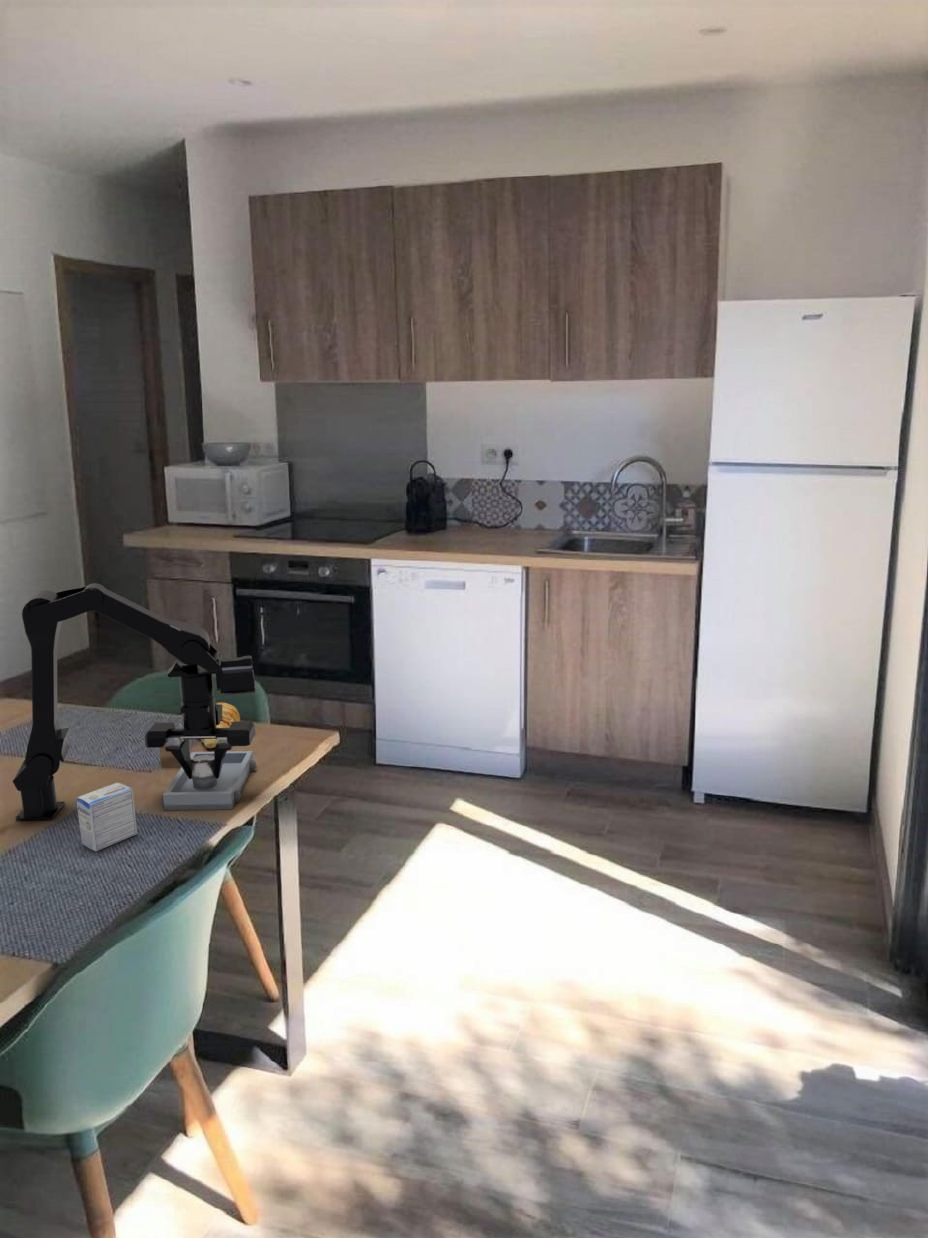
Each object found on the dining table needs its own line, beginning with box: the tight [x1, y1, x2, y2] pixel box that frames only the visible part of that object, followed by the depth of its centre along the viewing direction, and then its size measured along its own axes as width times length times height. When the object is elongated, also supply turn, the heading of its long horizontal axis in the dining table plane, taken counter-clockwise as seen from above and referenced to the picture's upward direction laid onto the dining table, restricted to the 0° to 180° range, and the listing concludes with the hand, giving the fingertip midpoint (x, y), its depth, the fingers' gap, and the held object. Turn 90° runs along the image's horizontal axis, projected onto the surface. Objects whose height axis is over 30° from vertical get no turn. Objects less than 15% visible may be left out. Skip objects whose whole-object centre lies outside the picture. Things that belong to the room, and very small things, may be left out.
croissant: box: [200, 701, 241, 749], centre depth 213 cm, size 21×10×8 cm, turn 6°
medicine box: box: [75, 782, 138, 852], centre depth 165 cm, size 8×4×9 cm, turn 141°
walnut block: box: [158, 744, 182, 768], centre depth 198 cm, size 4×4×5 cm
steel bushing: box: [190, 755, 218, 790], centre depth 182 cm, size 4×4×5 cm
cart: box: [161, 750, 257, 811], centre depth 186 cm, size 20×14×3 cm
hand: (204, 778), depth 182 cm, fingers open, 5 cm apart
